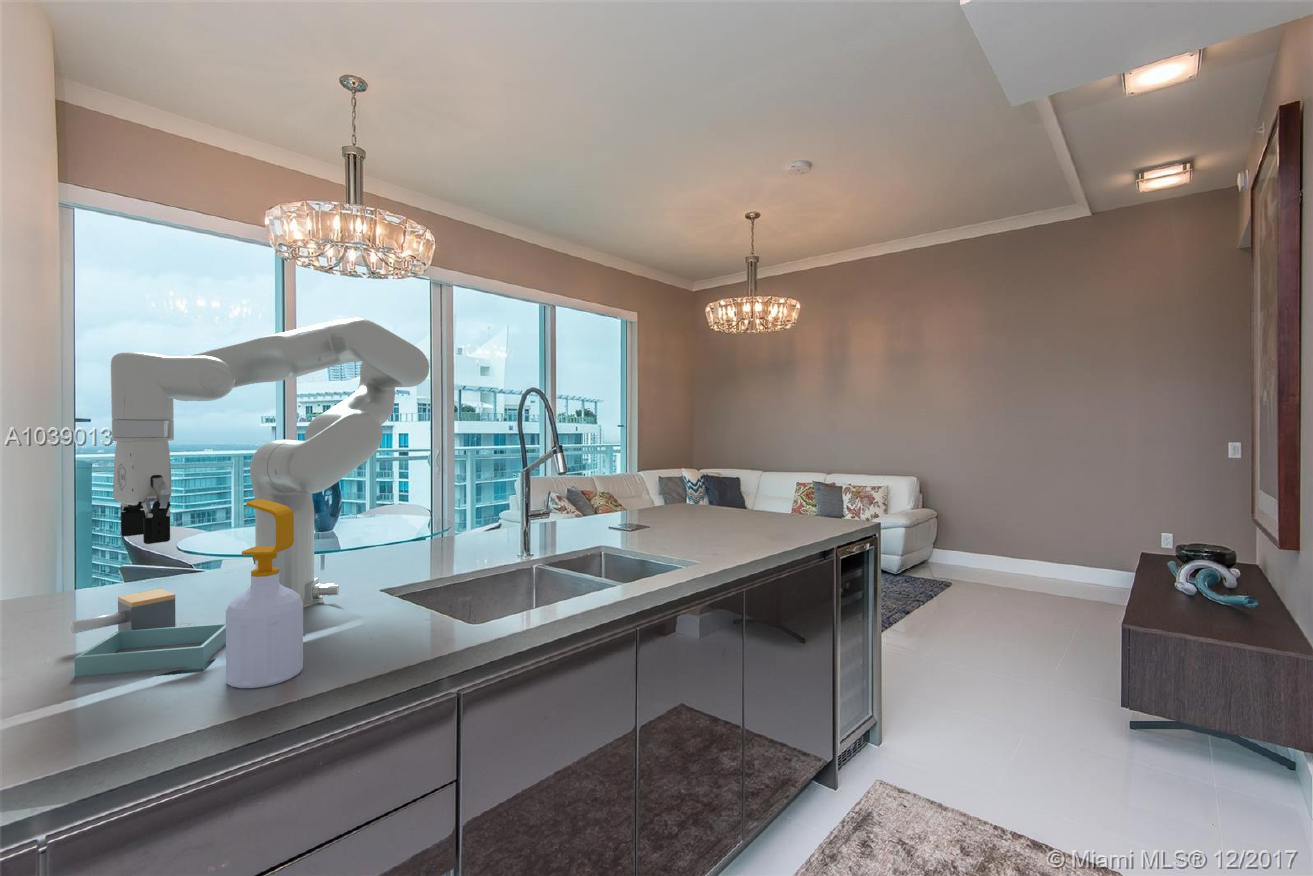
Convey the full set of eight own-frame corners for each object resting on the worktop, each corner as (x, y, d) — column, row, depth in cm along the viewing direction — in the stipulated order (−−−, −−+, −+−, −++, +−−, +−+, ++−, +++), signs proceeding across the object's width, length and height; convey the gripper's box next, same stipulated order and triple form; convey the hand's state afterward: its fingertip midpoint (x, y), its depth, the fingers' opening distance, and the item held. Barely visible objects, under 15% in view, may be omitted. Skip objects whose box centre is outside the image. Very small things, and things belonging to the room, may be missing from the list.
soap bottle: (249, 663, 89) (249, 496, 88) (314, 662, 90) (314, 496, 89) (210, 690, 80) (209, 504, 79) (282, 689, 81) (282, 505, 80)
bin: (230, 645, 96) (230, 623, 96) (203, 671, 86) (202, 647, 86) (117, 654, 92) (117, 631, 92) (74, 683, 82) (74, 657, 82)
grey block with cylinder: (161, 625, 101) (161, 588, 101) (175, 632, 98) (175, 594, 98) (67, 647, 92) (66, 606, 91) (79, 655, 89) (78, 612, 88)
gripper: (94, 430, 98) (96, 536, 99) (133, 433, 89) (135, 550, 89) (152, 430, 105) (153, 529, 105) (194, 432, 95) (195, 541, 96)
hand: (145, 538), depth 97 cm, fingers open, 9 cm apart
